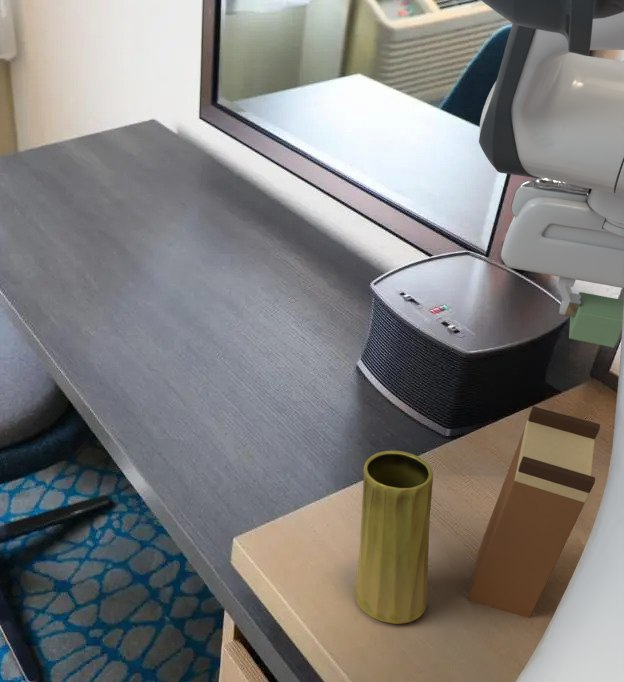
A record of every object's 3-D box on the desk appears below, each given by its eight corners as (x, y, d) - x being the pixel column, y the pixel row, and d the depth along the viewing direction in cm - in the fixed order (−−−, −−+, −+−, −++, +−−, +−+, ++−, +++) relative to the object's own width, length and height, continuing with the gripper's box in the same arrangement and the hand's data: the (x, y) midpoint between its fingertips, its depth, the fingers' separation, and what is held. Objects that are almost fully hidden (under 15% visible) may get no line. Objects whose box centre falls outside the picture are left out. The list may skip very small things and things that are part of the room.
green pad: (614, 348, 76) (625, 321, 74) (568, 338, 78) (578, 312, 76) (614, 326, 79) (624, 299, 77) (569, 317, 81) (579, 291, 79)
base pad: (525, 627, 67) (595, 482, 56) (465, 605, 69) (522, 460, 58) (534, 569, 72) (600, 423, 61) (478, 549, 74) (532, 405, 63)
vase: (433, 627, 66) (445, 494, 59) (357, 623, 67) (361, 493, 61) (420, 574, 71) (431, 446, 65) (350, 571, 73) (354, 446, 66)
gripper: (517, 187, 71) (481, 312, 79) (793, 226, 63) (722, 361, 71) (522, 160, 75) (487, 281, 84) (781, 194, 67) (715, 324, 76)
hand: (597, 318), depth 77 cm, fingers closed on green pad, 4 cm apart
